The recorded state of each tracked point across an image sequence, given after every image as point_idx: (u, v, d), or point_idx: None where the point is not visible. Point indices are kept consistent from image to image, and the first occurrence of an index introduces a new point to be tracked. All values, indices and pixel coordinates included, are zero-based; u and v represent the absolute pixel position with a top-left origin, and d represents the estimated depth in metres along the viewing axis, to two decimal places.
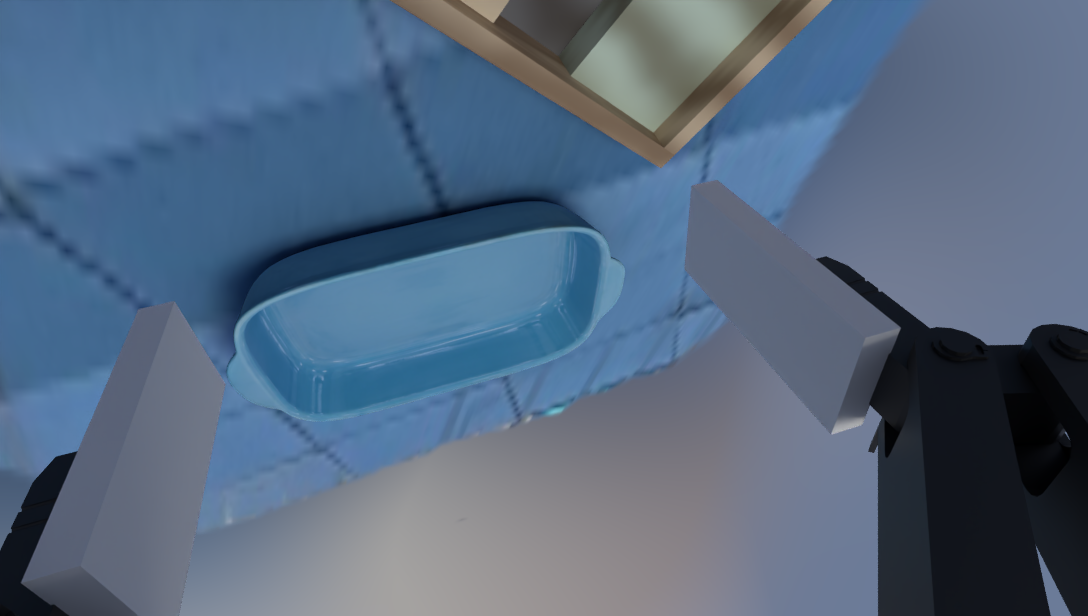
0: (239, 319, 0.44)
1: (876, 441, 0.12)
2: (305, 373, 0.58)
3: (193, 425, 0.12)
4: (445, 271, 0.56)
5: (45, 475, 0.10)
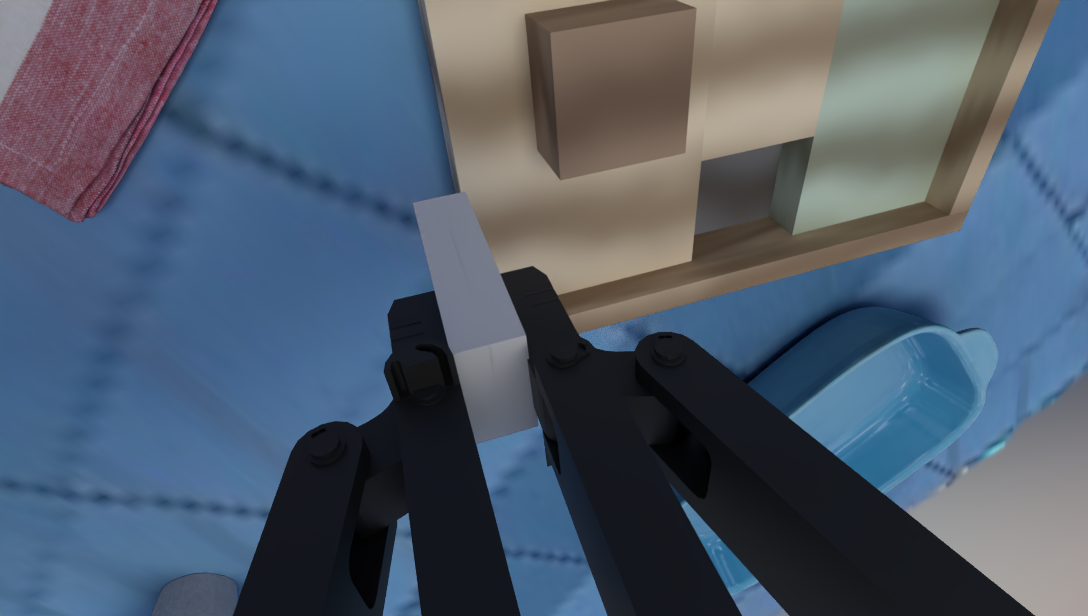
0: None
1: None
2: None
3: None
4: None
5: (395, 311, 0.13)
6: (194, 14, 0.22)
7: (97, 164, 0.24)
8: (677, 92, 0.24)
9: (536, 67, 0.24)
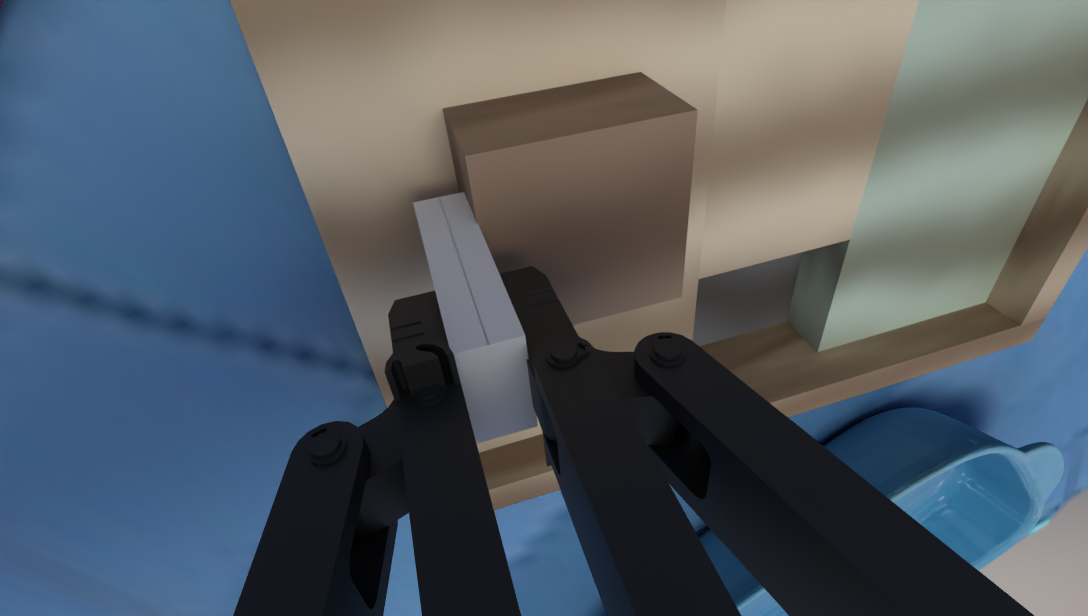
0: None
1: (548, 455, 0.12)
2: None
3: None
4: None
5: (395, 311, 0.13)
6: None
7: None
8: (669, 223, 0.16)
9: (460, 185, 0.16)
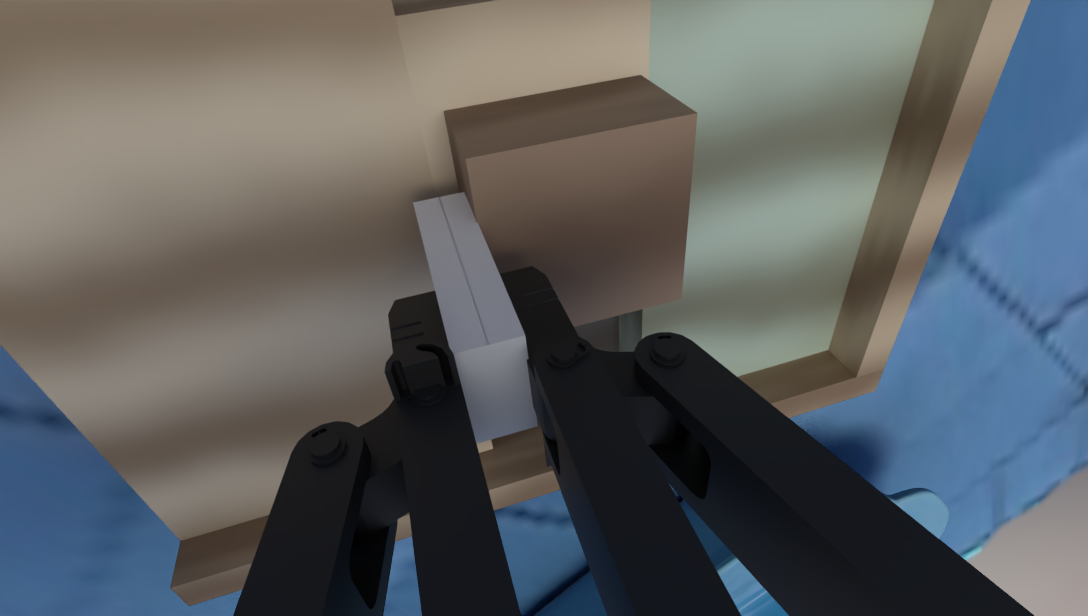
0: None
1: (548, 455, 0.12)
2: None
3: None
4: None
5: (395, 311, 0.13)
6: None
7: None
8: (669, 225, 0.16)
9: (461, 187, 0.17)
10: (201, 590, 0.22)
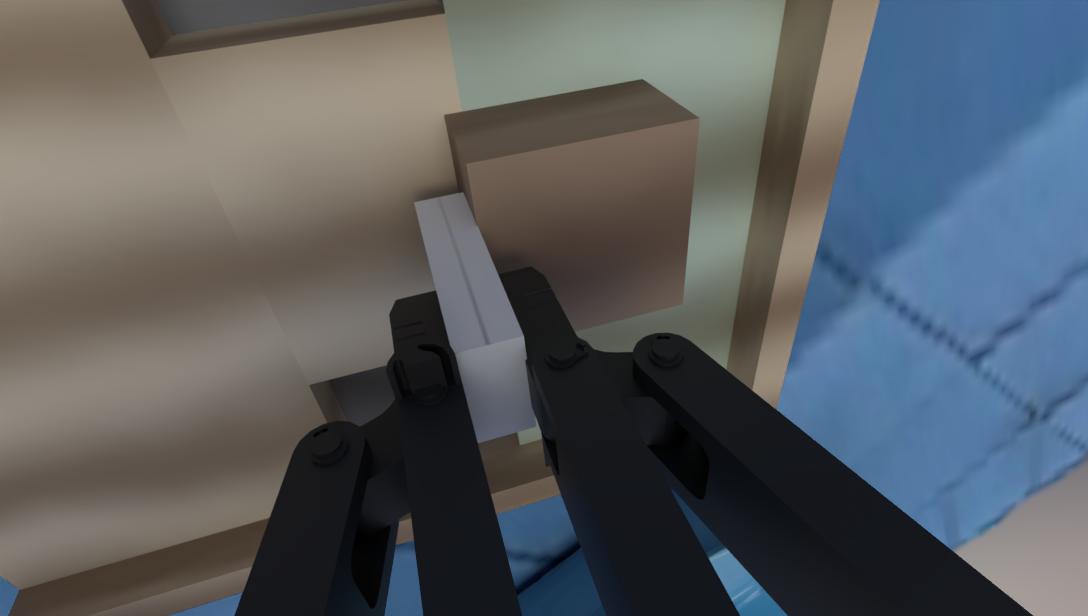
0: None
1: None
2: None
3: None
4: None
5: (396, 310, 0.13)
6: None
7: None
8: (670, 230, 0.16)
9: None
10: None
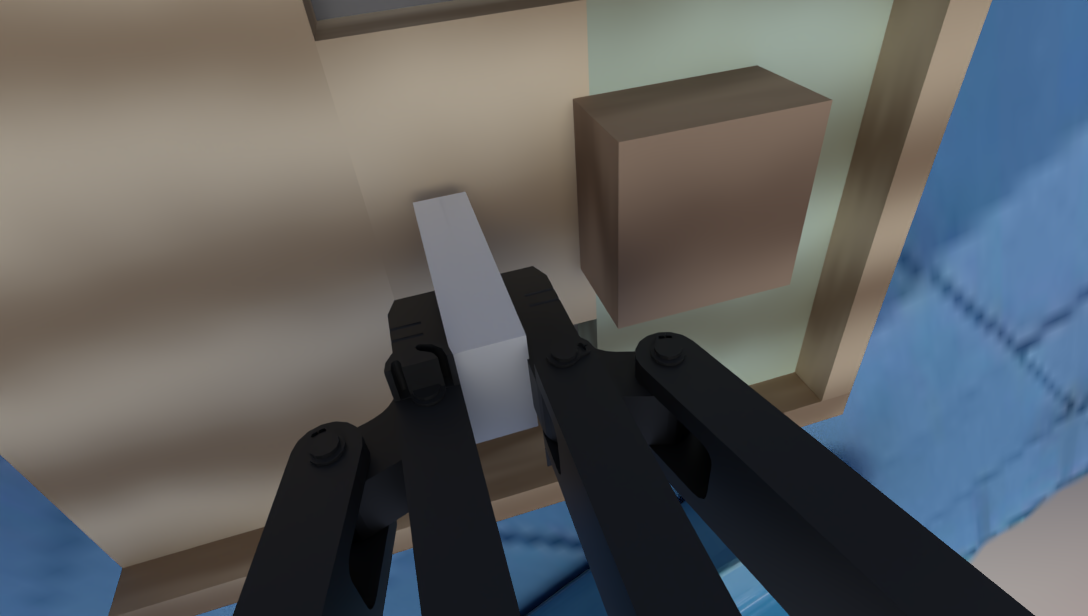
0: None
1: (549, 455, 0.12)
2: None
3: None
4: None
5: (395, 311, 0.13)
6: None
7: None
8: (790, 211, 0.17)
9: (587, 173, 0.17)
10: None
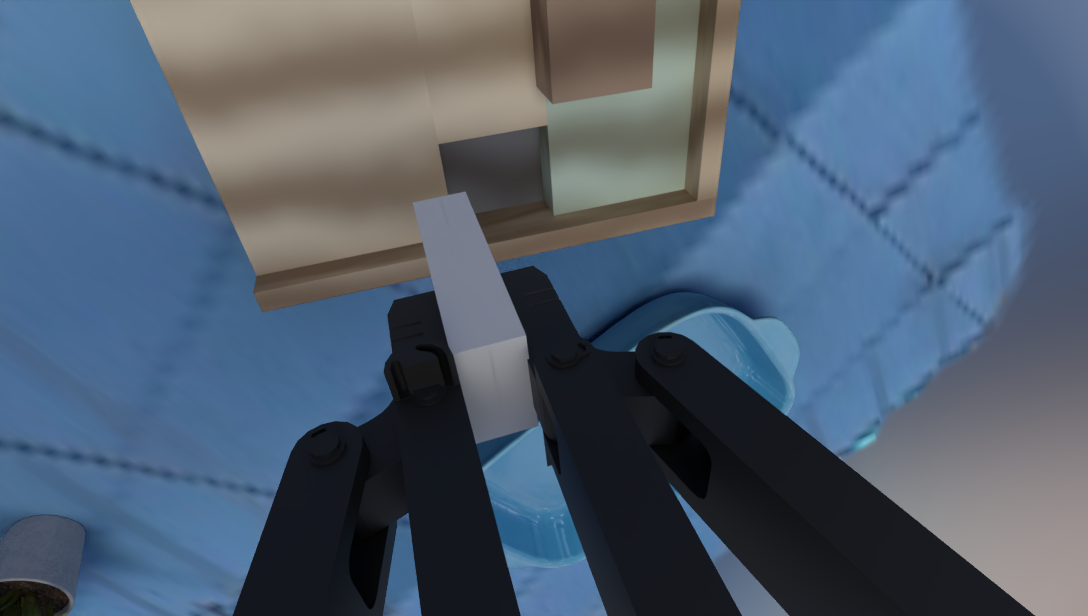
0: None
1: (549, 455, 0.12)
2: (545, 522, 0.64)
3: None
4: None
5: (394, 311, 0.13)
6: None
7: None
8: (644, 36, 0.32)
9: (535, 15, 0.32)
10: (270, 299, 0.36)
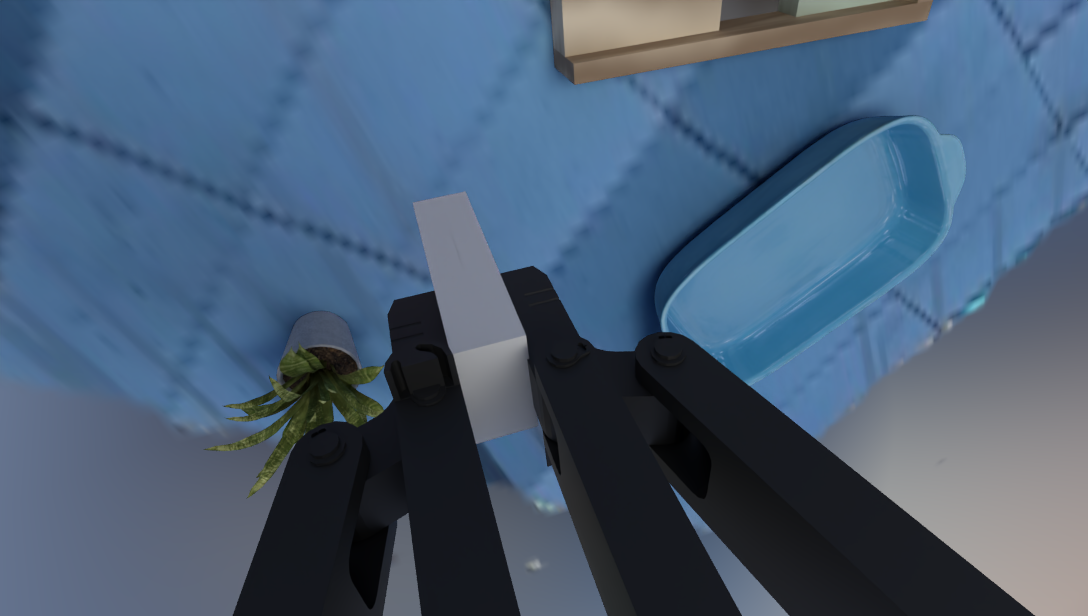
0: (662, 313, 0.58)
1: None
2: None
3: None
4: (786, 225, 0.64)
5: (394, 311, 0.13)
6: None
7: None
8: None
9: None
10: (584, 72, 0.43)
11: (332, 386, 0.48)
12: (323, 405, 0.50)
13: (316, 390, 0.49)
